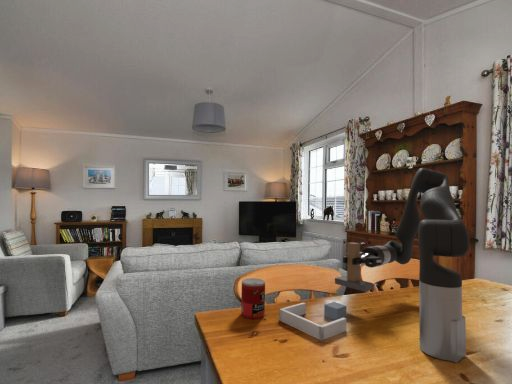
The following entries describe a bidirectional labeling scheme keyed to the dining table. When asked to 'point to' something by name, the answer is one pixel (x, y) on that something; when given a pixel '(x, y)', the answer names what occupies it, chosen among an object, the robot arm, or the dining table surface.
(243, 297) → the canned food
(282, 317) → the box
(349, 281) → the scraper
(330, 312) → the ceramic block
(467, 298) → the dining table surface
